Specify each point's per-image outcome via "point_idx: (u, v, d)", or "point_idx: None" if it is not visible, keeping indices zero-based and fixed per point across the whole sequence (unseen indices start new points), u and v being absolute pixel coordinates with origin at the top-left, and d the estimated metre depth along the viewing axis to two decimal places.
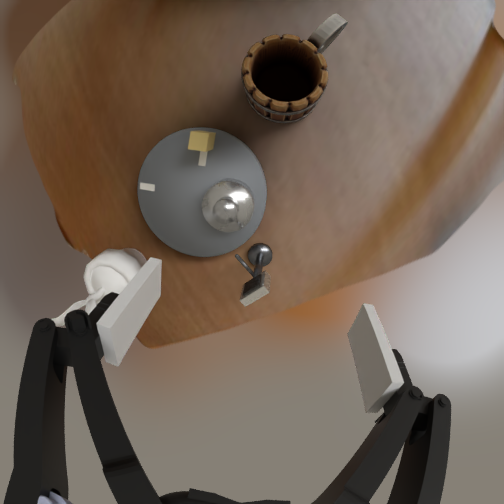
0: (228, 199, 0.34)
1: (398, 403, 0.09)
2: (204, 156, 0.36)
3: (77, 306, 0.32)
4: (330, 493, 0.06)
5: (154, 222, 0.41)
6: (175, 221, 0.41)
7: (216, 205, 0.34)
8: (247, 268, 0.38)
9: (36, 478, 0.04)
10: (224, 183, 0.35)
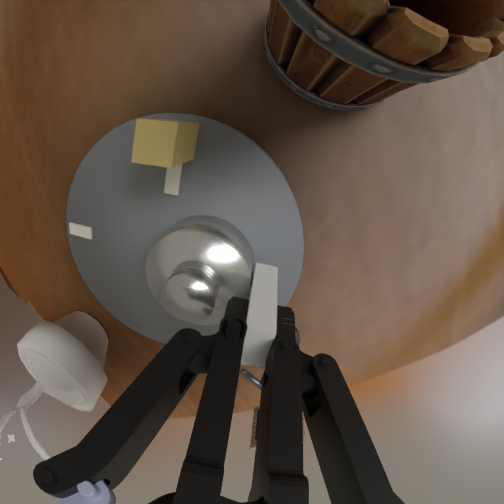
0: (194, 273, 0.15)
1: (273, 363, 0.11)
2: (176, 174, 0.17)
3: (4, 420, 0.12)
4: (259, 479, 0.07)
5: (100, 290, 0.22)
6: (132, 292, 0.22)
7: (168, 286, 0.15)
8: None
9: (95, 466, 0.05)
10: (187, 233, 0.16)
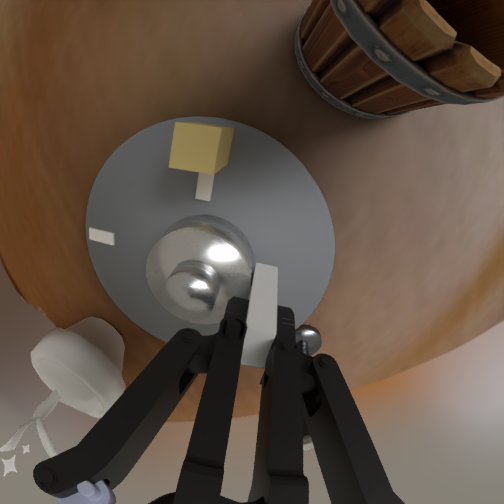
0: (194, 271, 0.15)
1: (273, 363, 0.11)
2: (208, 179, 0.17)
3: (21, 433, 0.13)
4: (259, 479, 0.07)
5: (122, 297, 0.22)
6: (156, 299, 0.22)
7: (168, 285, 0.15)
8: None
9: (95, 466, 0.05)
10: (187, 232, 0.16)
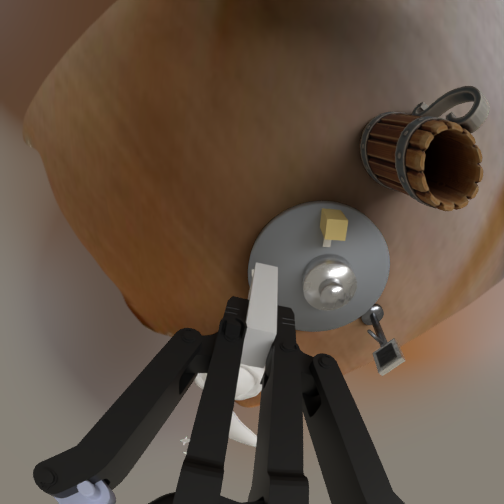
0: (335, 283, 0.32)
1: (274, 363, 0.11)
2: None
3: None
4: (259, 479, 0.07)
5: None
6: (295, 303, 0.38)
7: (325, 292, 0.31)
8: (377, 339, 0.35)
9: (95, 467, 0.05)
10: (328, 265, 0.32)
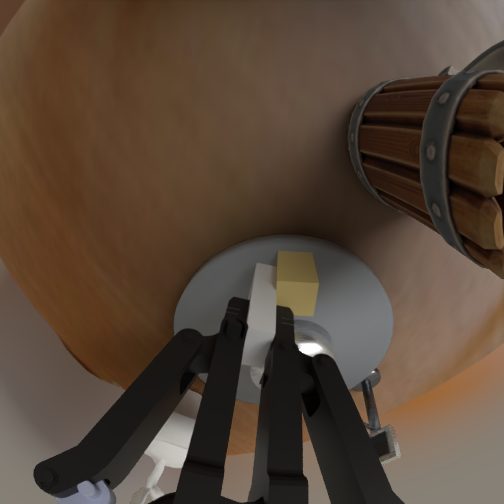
0: None
1: (273, 363, 0.11)
2: None
3: None
4: (259, 479, 0.07)
5: None
6: (249, 378, 0.25)
7: None
8: (366, 427, 0.22)
9: (95, 467, 0.05)
10: None
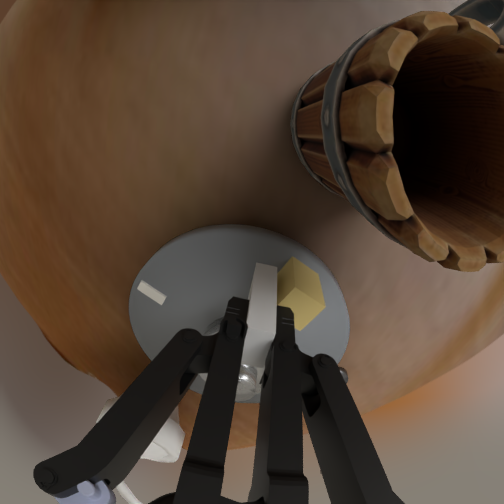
0: (248, 375, 0.19)
1: (273, 363, 0.11)
2: None
3: None
4: (259, 479, 0.07)
5: (147, 338, 0.24)
6: None
7: None
8: None
9: (95, 466, 0.05)
10: None
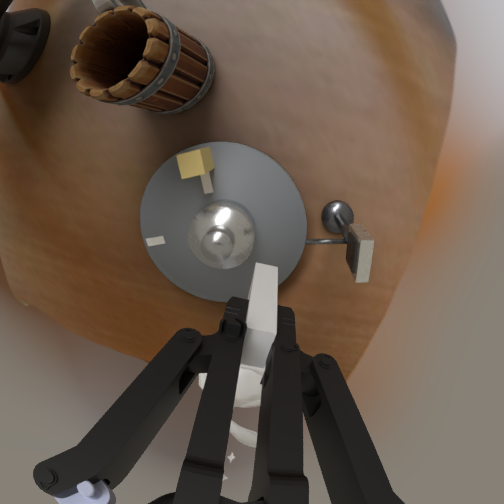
0: (214, 229, 0.26)
1: (274, 363, 0.11)
2: (207, 180, 0.29)
3: None
4: (260, 479, 0.07)
5: (181, 278, 0.34)
6: (204, 269, 0.34)
7: (203, 242, 0.26)
8: (331, 241, 0.26)
9: (95, 466, 0.05)
10: (204, 211, 0.27)
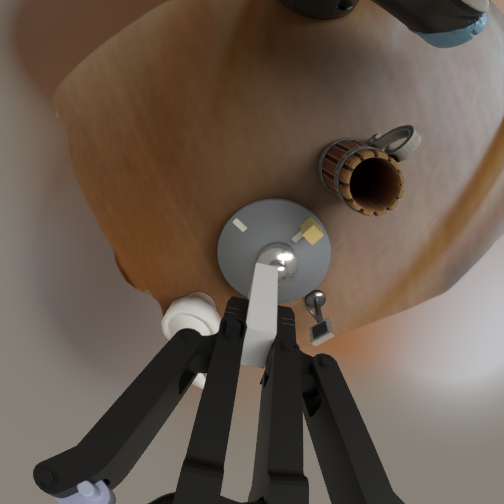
0: (285, 266, 0.43)
1: (274, 363, 0.11)
2: (300, 236, 0.45)
3: None
4: (260, 479, 0.07)
5: (224, 252, 0.48)
6: (242, 262, 0.49)
7: None
8: (314, 316, 0.47)
9: (95, 466, 0.05)
10: (288, 252, 0.44)
